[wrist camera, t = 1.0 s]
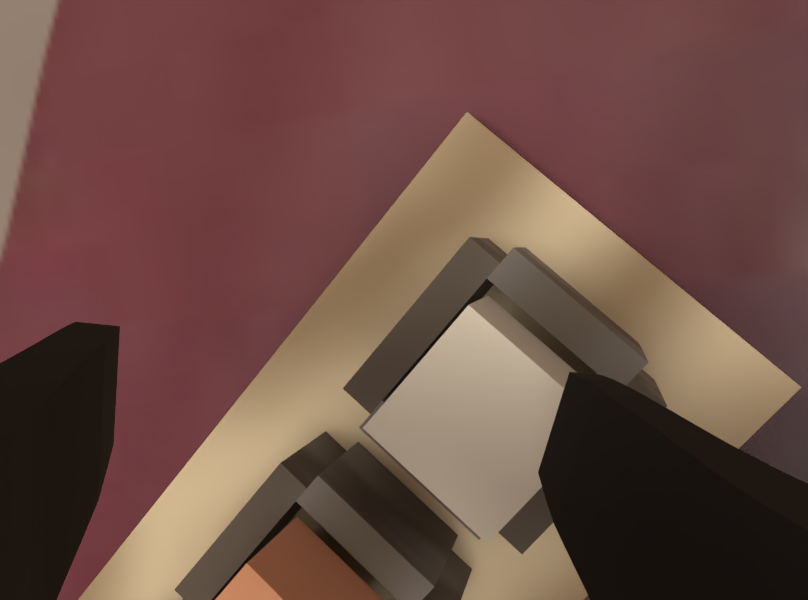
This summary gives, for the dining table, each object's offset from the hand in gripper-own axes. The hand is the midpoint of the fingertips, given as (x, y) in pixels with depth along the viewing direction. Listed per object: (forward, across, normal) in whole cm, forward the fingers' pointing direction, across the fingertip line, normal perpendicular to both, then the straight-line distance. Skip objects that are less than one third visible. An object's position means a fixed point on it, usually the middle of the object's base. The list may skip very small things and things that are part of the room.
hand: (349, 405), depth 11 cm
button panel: (+10, -3, +11) cm, 15 cm away
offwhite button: (+5, -5, +3) cm, 7 cm away
